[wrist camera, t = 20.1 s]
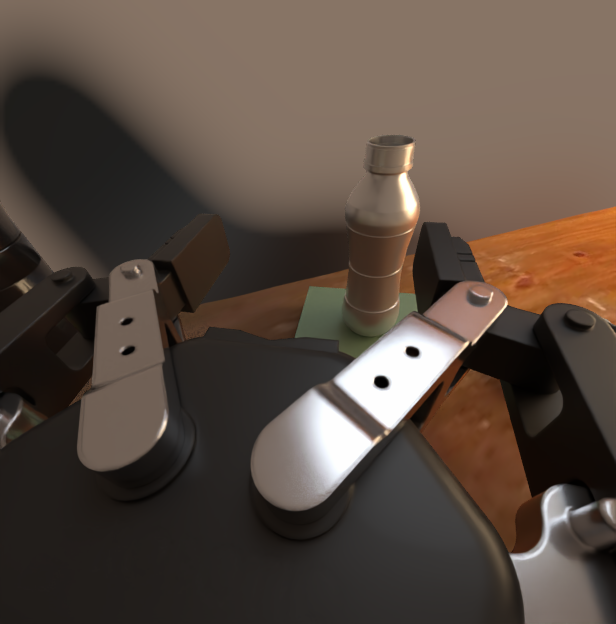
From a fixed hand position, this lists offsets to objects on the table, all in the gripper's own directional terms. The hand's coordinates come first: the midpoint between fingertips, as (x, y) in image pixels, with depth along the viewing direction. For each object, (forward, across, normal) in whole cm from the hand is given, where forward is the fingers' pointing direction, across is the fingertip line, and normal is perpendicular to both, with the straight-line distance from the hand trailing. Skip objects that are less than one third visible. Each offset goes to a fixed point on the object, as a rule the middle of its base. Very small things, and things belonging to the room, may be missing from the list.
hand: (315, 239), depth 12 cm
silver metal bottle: (+15, -4, +20) cm, 26 cm away
